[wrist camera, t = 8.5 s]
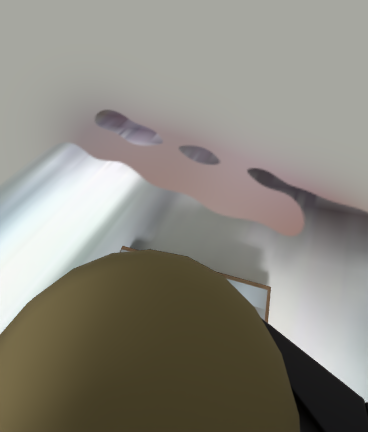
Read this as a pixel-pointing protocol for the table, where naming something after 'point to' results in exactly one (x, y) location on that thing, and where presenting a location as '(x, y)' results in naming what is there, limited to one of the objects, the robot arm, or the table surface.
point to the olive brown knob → (142, 354)
